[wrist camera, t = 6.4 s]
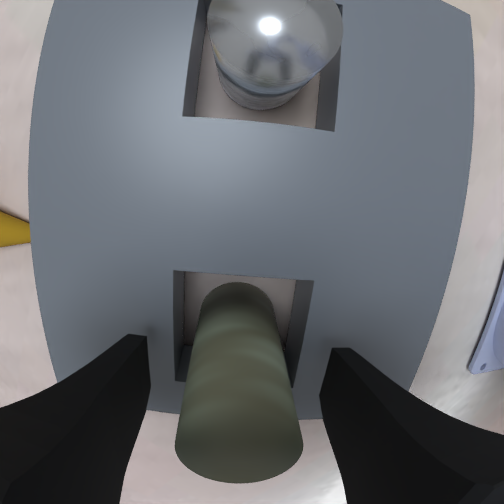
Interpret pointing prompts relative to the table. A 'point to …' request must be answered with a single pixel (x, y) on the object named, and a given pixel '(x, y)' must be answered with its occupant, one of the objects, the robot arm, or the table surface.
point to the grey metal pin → (271, 46)
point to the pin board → (247, 187)
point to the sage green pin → (238, 392)
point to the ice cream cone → (13, 231)
